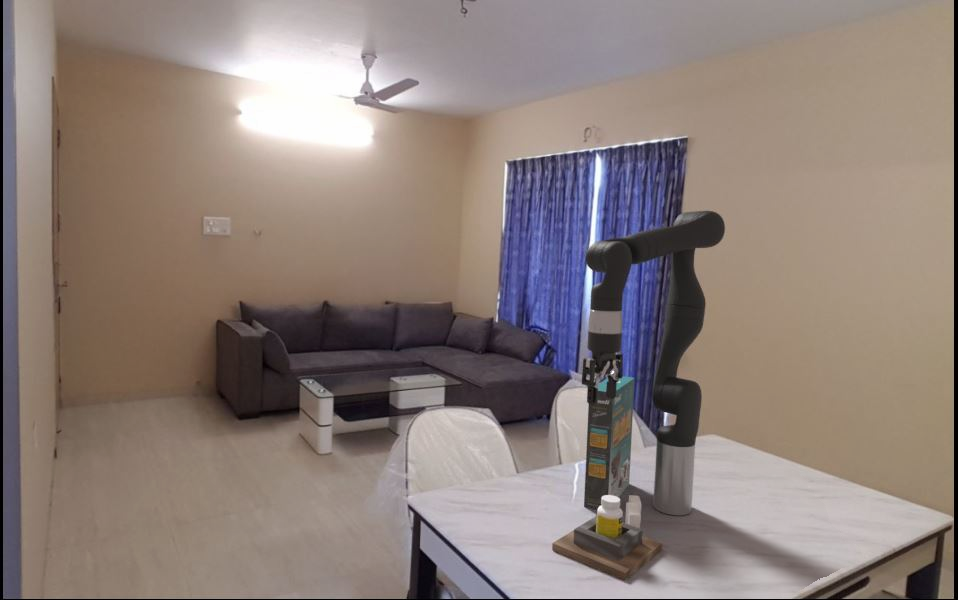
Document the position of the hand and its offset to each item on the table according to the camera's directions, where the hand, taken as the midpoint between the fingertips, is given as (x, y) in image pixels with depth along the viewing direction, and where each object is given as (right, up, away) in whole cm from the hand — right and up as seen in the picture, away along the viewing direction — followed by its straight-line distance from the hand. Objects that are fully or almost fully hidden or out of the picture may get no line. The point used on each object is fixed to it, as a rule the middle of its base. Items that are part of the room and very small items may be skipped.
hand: (601, 400), depth 135 cm
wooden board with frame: (0, -31, -8) cm, 32 cm away
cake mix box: (+6, -29, +22) cm, 37 cm away
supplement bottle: (0, -29, -8) cm, 30 cm away
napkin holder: (+9, -31, +5) cm, 33 cm away
